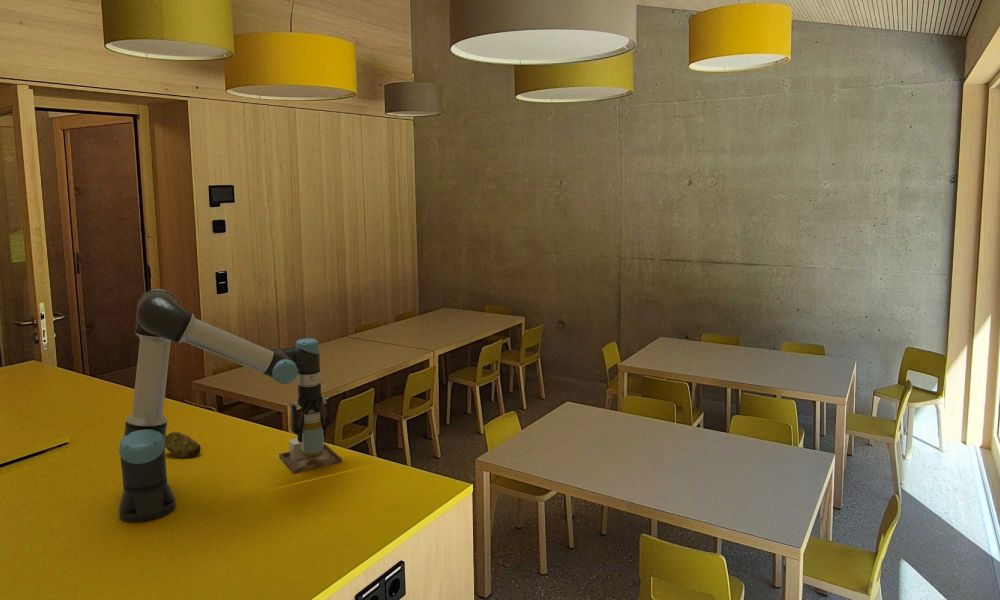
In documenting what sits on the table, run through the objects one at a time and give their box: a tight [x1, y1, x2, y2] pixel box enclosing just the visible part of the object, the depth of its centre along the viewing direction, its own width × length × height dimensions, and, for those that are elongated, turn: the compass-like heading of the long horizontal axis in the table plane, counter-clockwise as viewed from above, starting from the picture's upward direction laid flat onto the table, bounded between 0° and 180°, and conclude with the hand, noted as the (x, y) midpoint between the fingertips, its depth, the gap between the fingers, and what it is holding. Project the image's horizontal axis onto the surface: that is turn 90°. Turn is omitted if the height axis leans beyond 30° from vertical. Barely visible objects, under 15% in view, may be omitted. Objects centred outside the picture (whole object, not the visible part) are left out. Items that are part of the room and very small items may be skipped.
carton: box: [288, 437, 322, 461], centre depth 246 cm, size 10×5×6 cm, turn 124°
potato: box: [165, 431, 201, 458], centre depth 247 cm, size 8×13×8 cm, turn 60°
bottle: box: [302, 410, 323, 457], centre depth 238 cm, size 7×7×15 cm
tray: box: [278, 443, 343, 475], centre depth 242 cm, size 17×16×2 cm
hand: (312, 448), depth 239 cm, fingers closed on bottle, 6 cm apart
